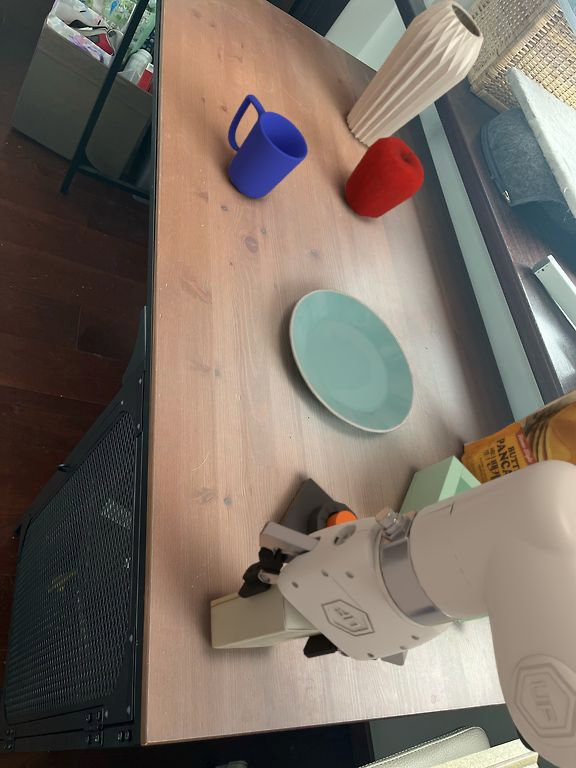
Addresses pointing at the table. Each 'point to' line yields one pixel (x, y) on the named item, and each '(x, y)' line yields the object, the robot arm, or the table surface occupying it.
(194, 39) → the table surface
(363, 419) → the plate
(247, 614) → the cosmetic box
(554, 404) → the pancake mix bag
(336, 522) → the button
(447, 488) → the mint green storage bin
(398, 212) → the table surface
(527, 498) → the robot arm
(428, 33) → the vase
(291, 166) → the mug
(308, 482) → the block
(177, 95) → the table surface
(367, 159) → the apple
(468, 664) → the table surface
